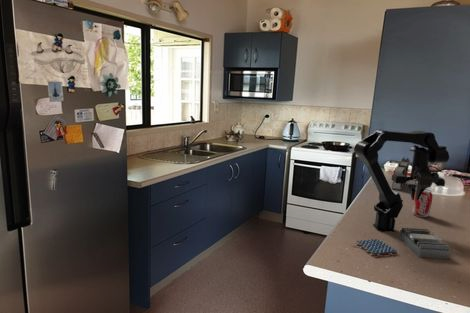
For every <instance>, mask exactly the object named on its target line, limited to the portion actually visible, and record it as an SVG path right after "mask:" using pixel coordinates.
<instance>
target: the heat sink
mask: <svg viewBox="0 0 470 313" xmlns="http://www.w3.org/2000/svg"><path fill="white" fill-rule="evenodd" d="M409 233H410V234H425V235H435V234H434V233H432V232H431V230H429V229H427V228H418V227H417V228H415V227H401V229H400V231H399V235H398V237H399V239H400V240H401V241H402V242H403V243H404V244H405V245H406V246H407V247H408V248H409V249H410V250H411V251H412V252H413V253H414V254H415V255H416V256H417V257H418V258H424V257H426V258H428V259H443V260H449V259H450V256H451V250H450V245H448V244H447V243H446V242H445V243H444V242H442V243H433V242H419V239H418V238H413V239H412V240H411V239H410V238H409V237H408V236H407V234H409ZM426 258H425V259H426Z"/></svg>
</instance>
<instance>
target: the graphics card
mask: <svg viewBox="0 0 470 313" xmlns="http://www.w3.org/2000/svg"><path fill="white" fill-rule="evenodd" d="M409 166H410V159H409V157H406V158H405V156H404V157H403V158H401V160H400V161H398V164H397V166H396V167H395V168H394V172H393V174H394V173H395V174H403V175H405V176H406V177H408V175H409V173H408V172H409ZM403 185H404V184H401V183H395V182H394V181H393V180H392V186H391V190H394V191H395V190H396V191H401V190H402V188H403Z"/></svg>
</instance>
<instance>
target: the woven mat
mask: <svg viewBox="0 0 470 313" xmlns="http://www.w3.org/2000/svg"><path fill="white" fill-rule="evenodd" d="M355 245H356V246H358V247H359V248H360V249H362V250H363V252H365V253H367V254H369V255H370V256H373V258H381V256H382V257H389V256H397V255H399V254H398V250H397V249H395V248H394V247H392V246H390V245H388V244H387V243H386V242H383V240H381V239H377V238H375V239H373V238H371V240H370V239H367V240H366V239H364V240H356V243H355Z"/></svg>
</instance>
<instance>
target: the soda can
mask: <svg viewBox="0 0 470 313" xmlns="http://www.w3.org/2000/svg"><path fill="white" fill-rule="evenodd" d="M432 192H433V191H432V190H431V189H428V188H426V189H425V190H424V191H423V193H422V194H421V196H420V198H419V199H418V201H417V200H416V192H415V197H414V200H413V206H412V213H413V215H415V217H419V218H428V217H429V216H430V213H431V209H432V203H433V197H434V196H433V193H432Z"/></svg>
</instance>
